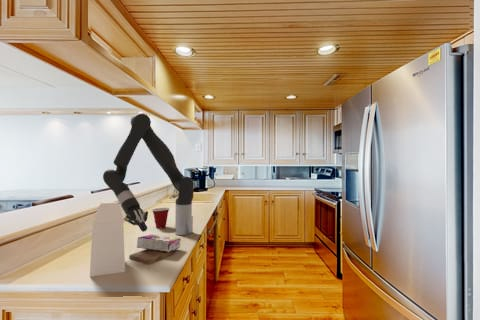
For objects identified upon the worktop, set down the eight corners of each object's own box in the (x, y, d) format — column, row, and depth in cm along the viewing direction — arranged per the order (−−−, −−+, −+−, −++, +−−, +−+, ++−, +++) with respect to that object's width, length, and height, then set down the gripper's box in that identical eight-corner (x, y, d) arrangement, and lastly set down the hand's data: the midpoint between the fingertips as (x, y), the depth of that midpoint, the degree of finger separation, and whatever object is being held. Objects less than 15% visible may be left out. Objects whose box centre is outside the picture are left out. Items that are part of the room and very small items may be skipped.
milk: (89, 276, 100) (90, 205, 100) (92, 265, 111) (93, 201, 111) (125, 271, 105) (125, 203, 105) (124, 261, 116) (125, 199, 116)
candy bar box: (151, 233, 136) (181, 237, 132) (150, 243, 136) (180, 248, 131) (137, 236, 126) (169, 241, 121) (136, 247, 125) (168, 252, 121)
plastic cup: (158, 224, 180) (158, 206, 180) (172, 226, 177) (172, 207, 177) (147, 228, 170) (148, 209, 170) (162, 230, 167) (163, 210, 167)
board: (154, 249, 131) (154, 246, 131) (172, 254, 125) (172, 250, 125) (129, 258, 119) (129, 255, 119) (148, 264, 113) (148, 260, 113)
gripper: (119, 198, 127) (137, 228, 121) (143, 195, 139) (160, 222, 133) (112, 208, 130) (129, 238, 124) (136, 204, 142) (152, 232, 135)
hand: (145, 230), depth 128 cm, fingers closed
